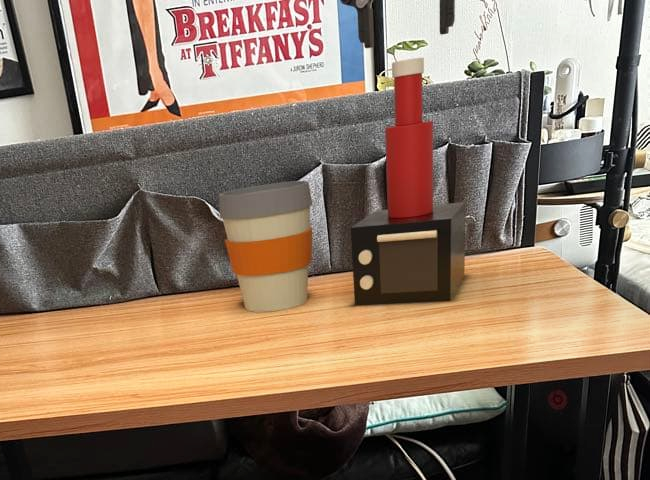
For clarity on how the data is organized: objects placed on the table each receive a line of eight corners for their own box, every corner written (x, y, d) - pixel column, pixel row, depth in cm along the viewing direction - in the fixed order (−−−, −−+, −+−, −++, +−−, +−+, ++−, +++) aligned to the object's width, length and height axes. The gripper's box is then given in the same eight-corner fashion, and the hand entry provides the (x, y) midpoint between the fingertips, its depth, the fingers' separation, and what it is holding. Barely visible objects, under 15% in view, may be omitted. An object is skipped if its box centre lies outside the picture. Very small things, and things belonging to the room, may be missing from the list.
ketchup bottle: (436, 209, 93) (436, 56, 85) (429, 215, 88) (428, 55, 80) (392, 213, 95) (388, 64, 87) (383, 219, 90) (378, 64, 82)
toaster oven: (464, 280, 100) (465, 201, 95) (448, 308, 88) (449, 220, 83) (378, 285, 104) (375, 210, 99) (352, 313, 92) (347, 229, 87)
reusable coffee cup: (233, 300, 109) (218, 191, 101) (316, 288, 108) (307, 178, 101) (231, 319, 98) (215, 199, 91) (324, 307, 97) (314, 184, 90)
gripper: (326, -136, 74) (337, 51, 82) (469, -178, 69) (466, 27, 77) (344, -121, 80) (353, 53, 88) (478, -158, 75) (474, 30, 83)
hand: (406, 40), depth 83 cm, fingers open, 8 cm apart
